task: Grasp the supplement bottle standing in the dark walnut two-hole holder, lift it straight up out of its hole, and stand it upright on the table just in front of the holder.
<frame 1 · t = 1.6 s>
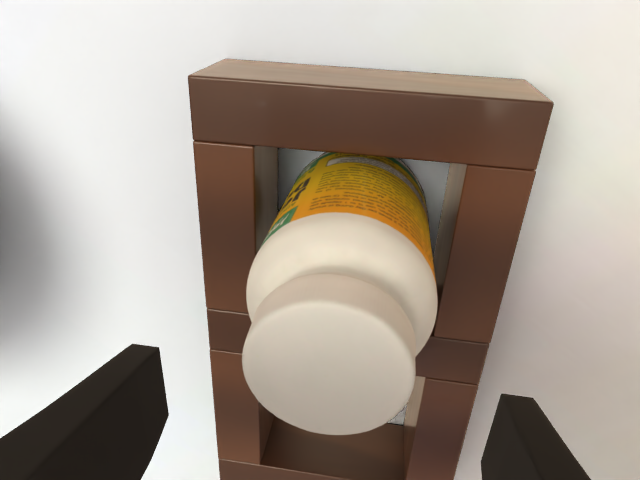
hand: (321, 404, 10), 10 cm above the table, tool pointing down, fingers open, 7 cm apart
holder: (350, 294, 22), on the table
supplement bottle: (358, 204, 20), resting in holder
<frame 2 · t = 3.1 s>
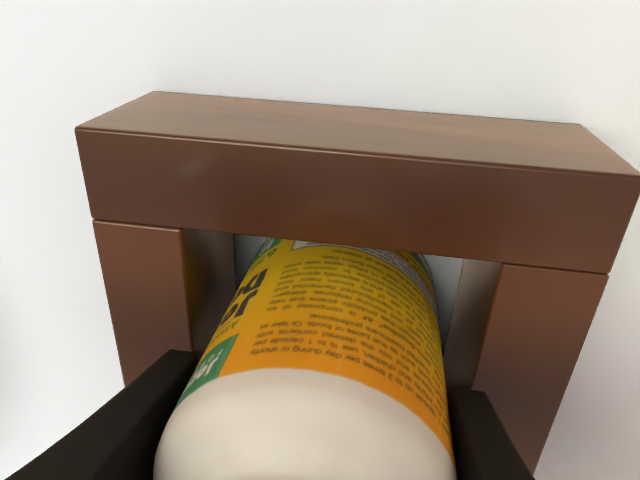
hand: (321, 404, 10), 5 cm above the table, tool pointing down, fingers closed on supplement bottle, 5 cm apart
holder: (334, 391, 16), on the table
supplement bottle: (342, 282, 15), resting in holder, touching gripper
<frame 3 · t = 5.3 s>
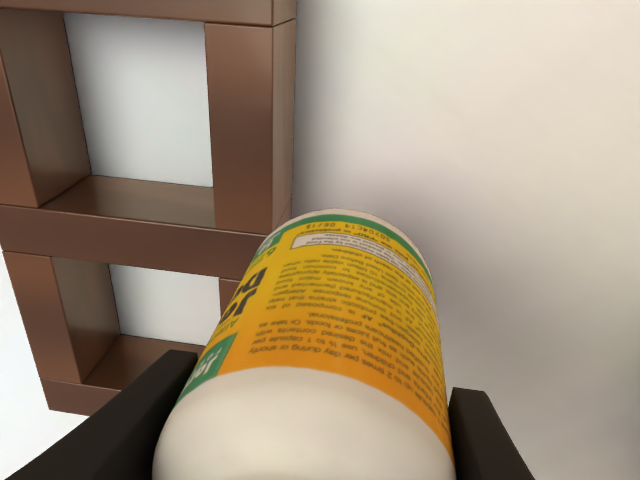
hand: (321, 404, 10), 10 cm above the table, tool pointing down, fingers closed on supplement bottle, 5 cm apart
holder: (168, 204, 21), on the table
supplement bottle: (342, 281, 15), point 6 cm above the table, touching gripper
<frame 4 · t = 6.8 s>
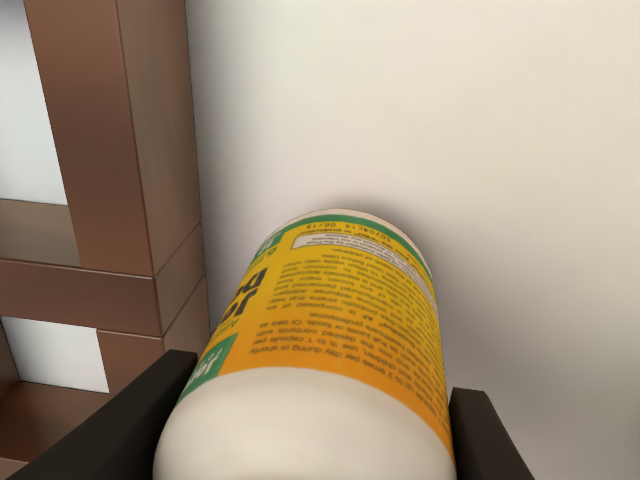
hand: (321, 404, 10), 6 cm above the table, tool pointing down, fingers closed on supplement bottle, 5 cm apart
holder: (55, 229, 17), on the table
supplement bottle: (342, 281, 15), point 1 cm above the table, touching gripper
when the fingers open (5 cm above the table, at t = 7.8 s): supplement bottle stays where it is, on the table.
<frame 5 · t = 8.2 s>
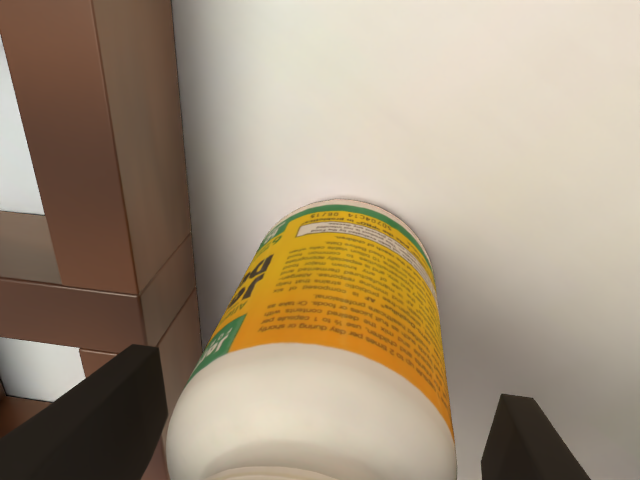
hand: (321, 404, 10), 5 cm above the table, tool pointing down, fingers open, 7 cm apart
holder: (39, 241, 16), on the table
supplement bottle: (344, 271, 15), on the table
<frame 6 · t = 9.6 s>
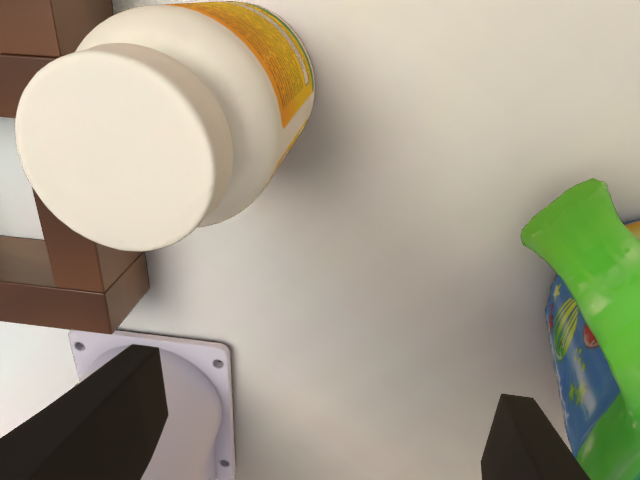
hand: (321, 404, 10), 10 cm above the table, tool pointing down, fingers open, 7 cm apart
supplement bottle: (246, 80, 18), on the table
snack cup: (638, 289, 20), on the table
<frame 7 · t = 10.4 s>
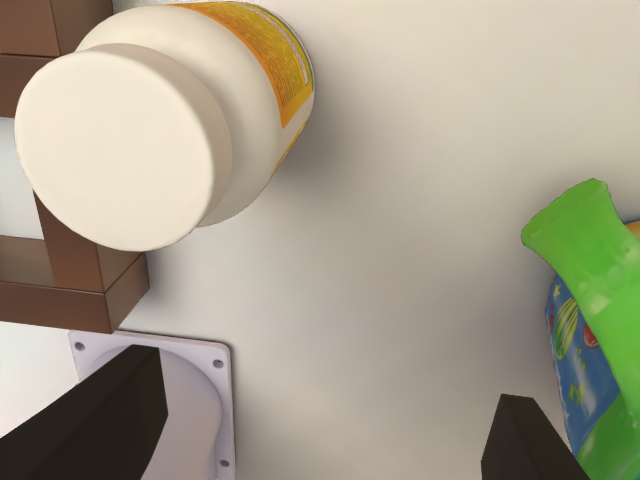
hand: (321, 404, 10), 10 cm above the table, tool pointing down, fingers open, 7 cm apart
supplement bottle: (246, 80, 18), on the table
snack cup: (638, 289, 20), on the table
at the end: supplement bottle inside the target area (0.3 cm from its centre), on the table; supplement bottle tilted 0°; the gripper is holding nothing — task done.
